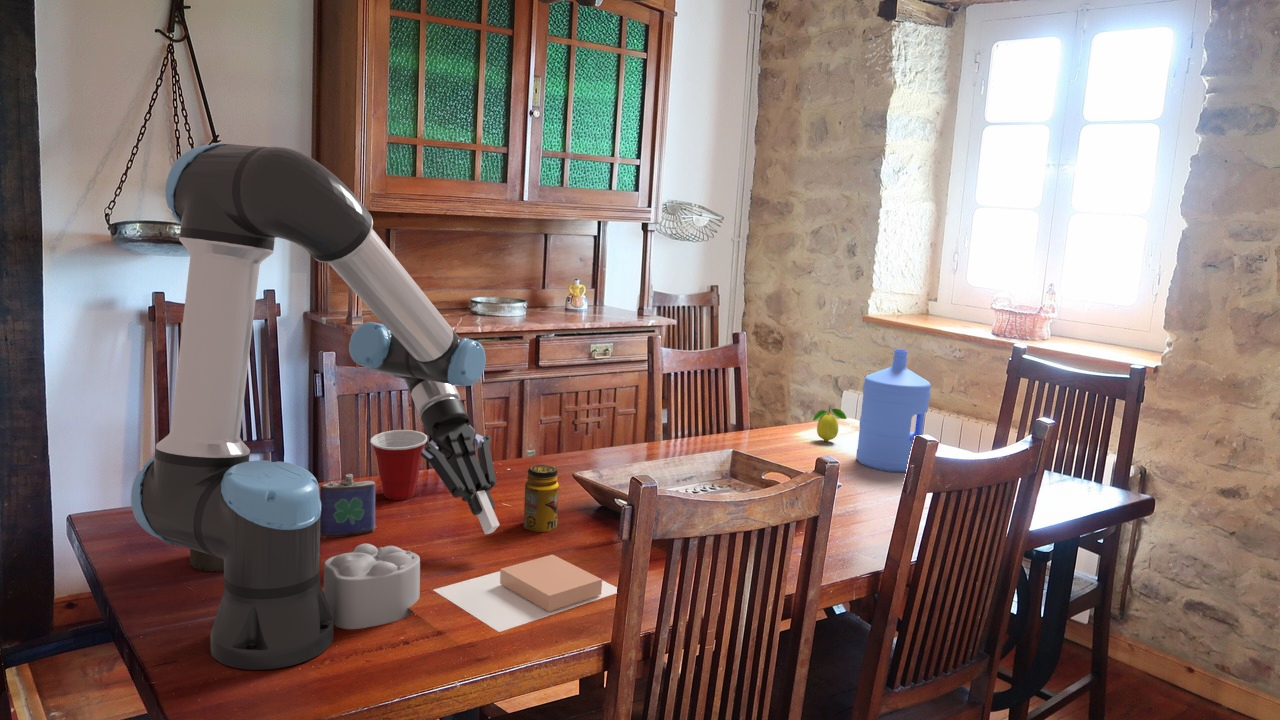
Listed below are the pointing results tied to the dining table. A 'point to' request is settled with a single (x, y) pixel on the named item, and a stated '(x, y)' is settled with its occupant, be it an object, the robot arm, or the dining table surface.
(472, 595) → the board
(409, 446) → the plastic cup
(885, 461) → the water jug
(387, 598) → the lumpy-topped squat cylinder
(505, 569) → the tile
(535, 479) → the condiment
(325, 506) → the flask
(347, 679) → the dining table surface
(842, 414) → the lemon
